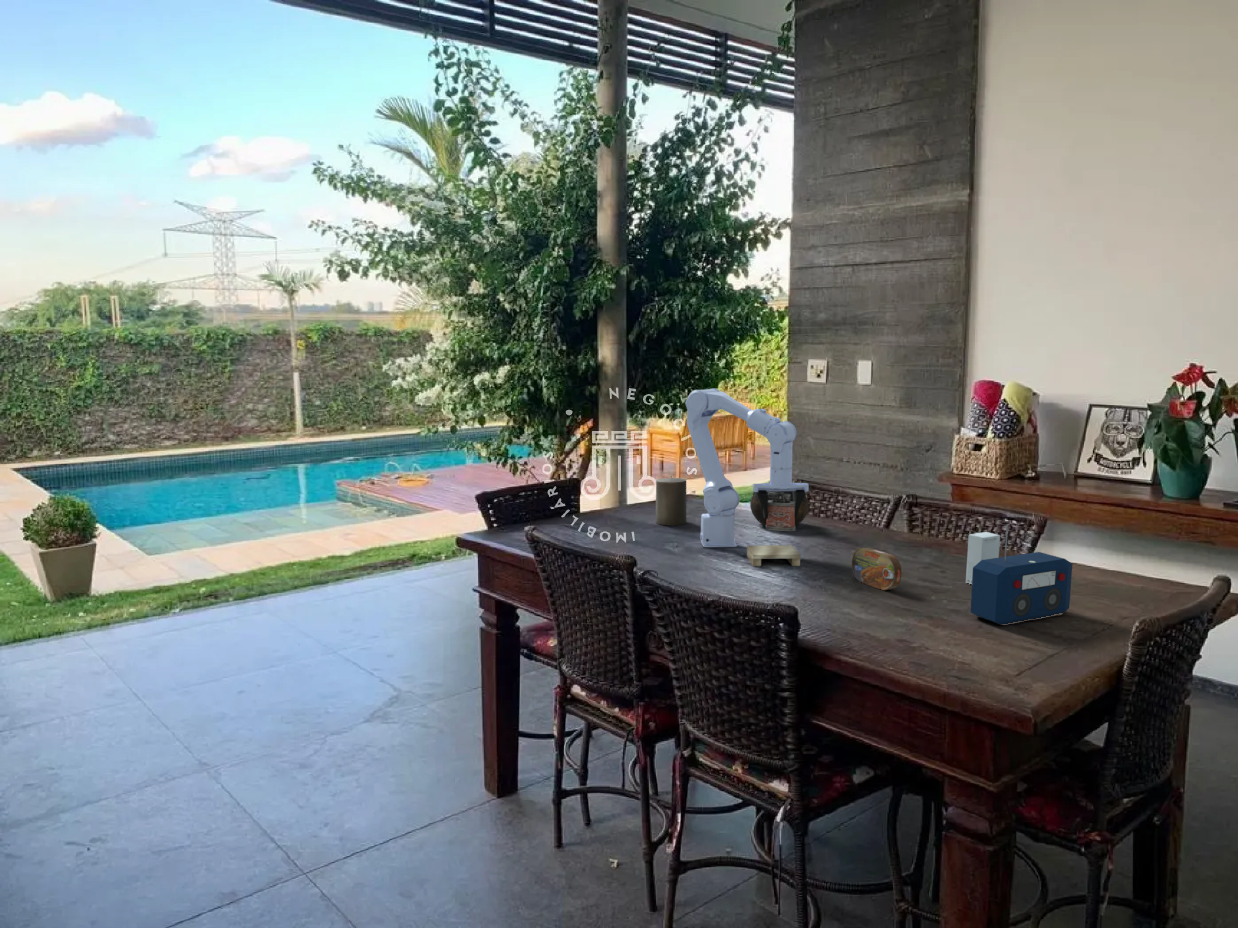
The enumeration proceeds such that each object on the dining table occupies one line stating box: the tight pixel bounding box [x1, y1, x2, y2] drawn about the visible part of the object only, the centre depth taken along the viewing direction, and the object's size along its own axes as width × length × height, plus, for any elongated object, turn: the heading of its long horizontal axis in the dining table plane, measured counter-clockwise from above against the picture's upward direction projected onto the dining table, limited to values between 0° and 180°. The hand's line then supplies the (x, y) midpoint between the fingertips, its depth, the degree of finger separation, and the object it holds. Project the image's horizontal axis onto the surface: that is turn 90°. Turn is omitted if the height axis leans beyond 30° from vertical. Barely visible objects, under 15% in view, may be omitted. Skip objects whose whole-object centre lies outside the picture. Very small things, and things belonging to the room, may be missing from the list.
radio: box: [970, 524, 1073, 625], centre depth 182 cm, size 21×9×20 cm, turn 114°
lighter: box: [765, 492, 796, 532], centre depth 235 cm, size 8×3×10 cm, turn 61°
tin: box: [851, 547, 903, 591], centre depth 206 cm, size 15×3×8 cm, turn 23°
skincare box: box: [965, 531, 1001, 585], centre depth 206 cm, size 6×4×12 cm
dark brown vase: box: [749, 481, 810, 527], centre depth 270 cm, size 18×18×28 cm
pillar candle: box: [655, 475, 687, 527], centre depth 276 cm, size 10×10×15 cm
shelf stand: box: [746, 544, 801, 567], centre depth 229 cm, size 12×10×3 cm
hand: (780, 517), depth 235 cm, fingers closed on lighter, 7 cm apart
